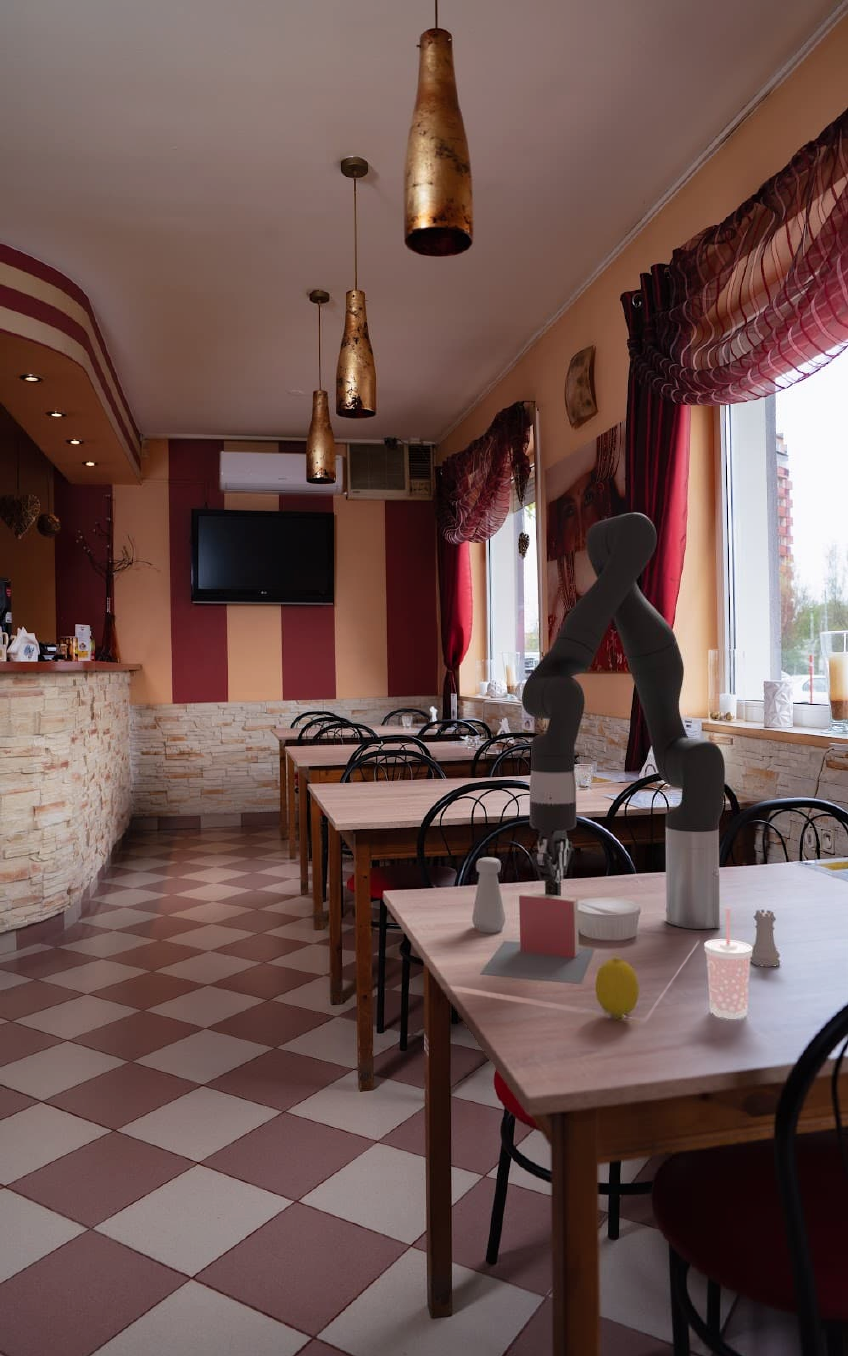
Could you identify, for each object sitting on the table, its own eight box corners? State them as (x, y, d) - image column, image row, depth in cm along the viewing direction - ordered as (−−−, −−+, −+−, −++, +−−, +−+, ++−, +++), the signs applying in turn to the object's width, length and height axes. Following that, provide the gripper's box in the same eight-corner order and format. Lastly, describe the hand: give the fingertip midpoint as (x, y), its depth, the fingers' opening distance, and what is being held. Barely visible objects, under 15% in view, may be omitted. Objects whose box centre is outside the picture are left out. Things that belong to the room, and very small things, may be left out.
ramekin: (568, 941, 151) (567, 910, 151) (581, 924, 161) (581, 895, 161) (635, 948, 146) (635, 916, 146) (644, 930, 157) (644, 900, 157)
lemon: (590, 1011, 119) (590, 951, 119) (631, 1009, 120) (630, 950, 120) (602, 1027, 114) (602, 965, 114) (644, 1025, 114) (644, 963, 114)
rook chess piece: (766, 969, 136) (766, 917, 136) (743, 961, 140) (743, 910, 140) (786, 964, 138) (786, 913, 138) (763, 956, 142) (763, 906, 142)
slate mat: (594, 952, 144) (594, 948, 144) (581, 987, 128) (581, 983, 128) (504, 944, 149) (504, 940, 149) (479, 977, 133) (479, 973, 133)
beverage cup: (706, 1001, 122) (706, 900, 122) (753, 1008, 120) (753, 904, 120) (702, 1018, 117) (701, 911, 117) (751, 1024, 114) (751, 916, 114)
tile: (525, 945, 146) (524, 891, 145) (578, 953, 142) (577, 897, 141) (520, 950, 144) (519, 895, 143) (574, 958, 139) (572, 902, 139)
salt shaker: (503, 938, 152) (502, 862, 152) (470, 936, 154) (469, 861, 153) (507, 928, 158) (506, 855, 158) (475, 926, 159) (474, 854, 159)
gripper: (561, 805, 137) (561, 917, 137) (587, 794, 149) (587, 898, 149) (516, 802, 141) (516, 911, 141) (545, 792, 152) (545, 893, 153)
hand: (553, 904), depth 145 cm, fingers closed
